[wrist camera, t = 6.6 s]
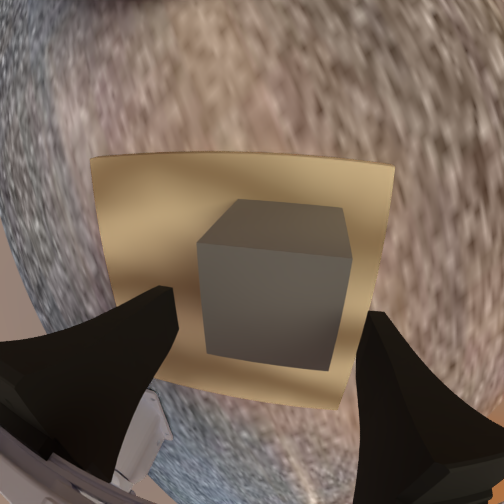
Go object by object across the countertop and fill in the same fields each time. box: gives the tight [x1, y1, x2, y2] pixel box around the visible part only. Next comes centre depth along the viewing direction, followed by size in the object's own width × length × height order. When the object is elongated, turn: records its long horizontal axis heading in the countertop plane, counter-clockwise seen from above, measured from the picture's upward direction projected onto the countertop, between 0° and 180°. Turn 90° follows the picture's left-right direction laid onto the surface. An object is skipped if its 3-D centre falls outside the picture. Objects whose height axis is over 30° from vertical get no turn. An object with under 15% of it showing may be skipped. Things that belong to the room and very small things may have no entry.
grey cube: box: [196, 199, 353, 371], centre depth 13 cm, size 5×5×6 cm
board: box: [90, 151, 395, 410], centre depth 19 cm, size 18×17×1 cm
